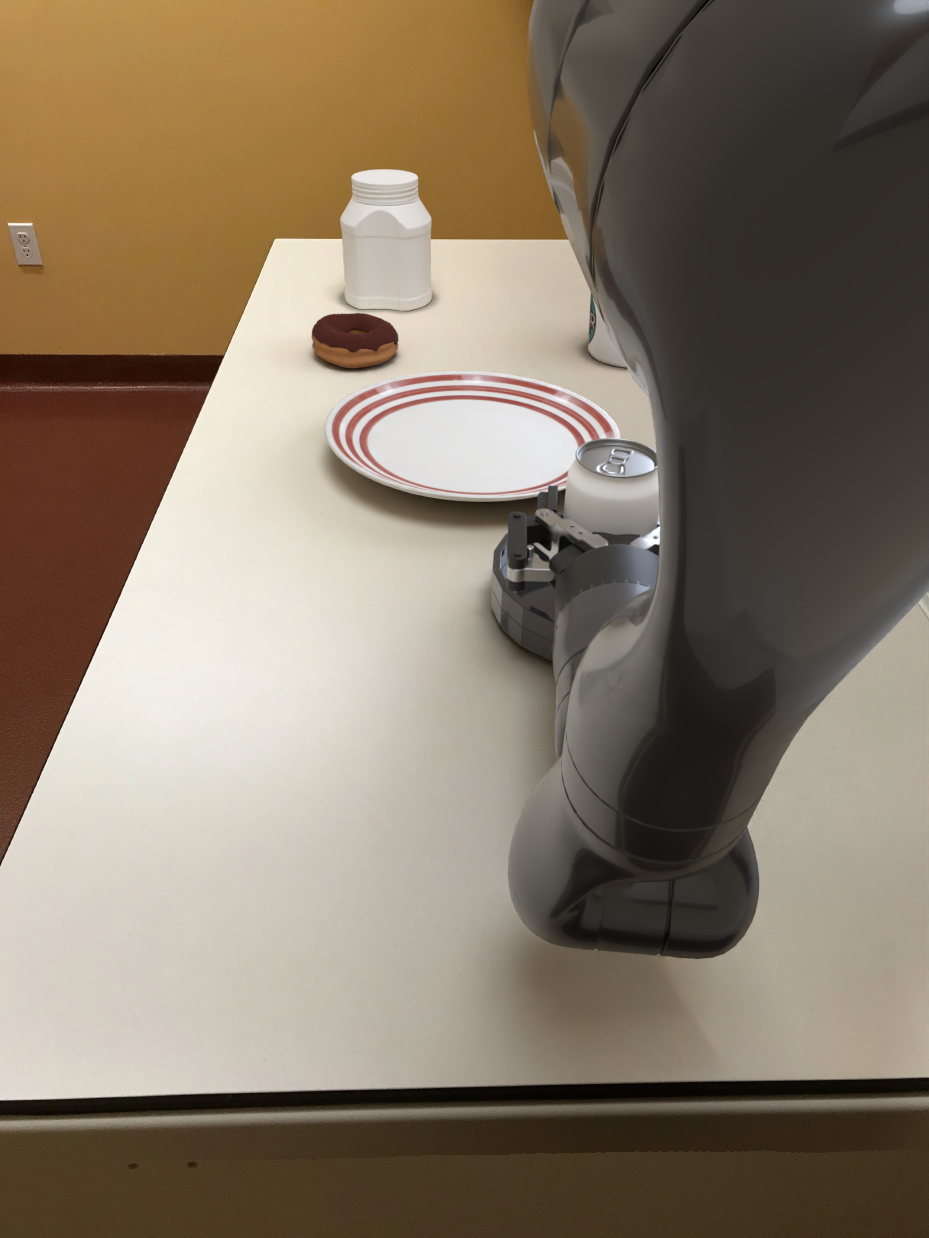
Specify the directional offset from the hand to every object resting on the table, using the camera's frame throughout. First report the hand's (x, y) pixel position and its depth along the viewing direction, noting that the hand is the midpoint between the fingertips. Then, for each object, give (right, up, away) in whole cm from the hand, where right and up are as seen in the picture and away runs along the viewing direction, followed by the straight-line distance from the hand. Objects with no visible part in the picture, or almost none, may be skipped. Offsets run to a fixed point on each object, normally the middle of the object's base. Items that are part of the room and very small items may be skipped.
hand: (612, 500), depth 68 cm
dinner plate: (-10, +7, +23) cm, 26 cm away
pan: (0, -8, +3) cm, 8 cm away
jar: (-21, +34, +59) cm, 71 cm away
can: (0, -7, +3) cm, 8 cm away
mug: (+9, +24, +46) cm, 53 cm away
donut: (-23, +22, +43) cm, 53 cm away
